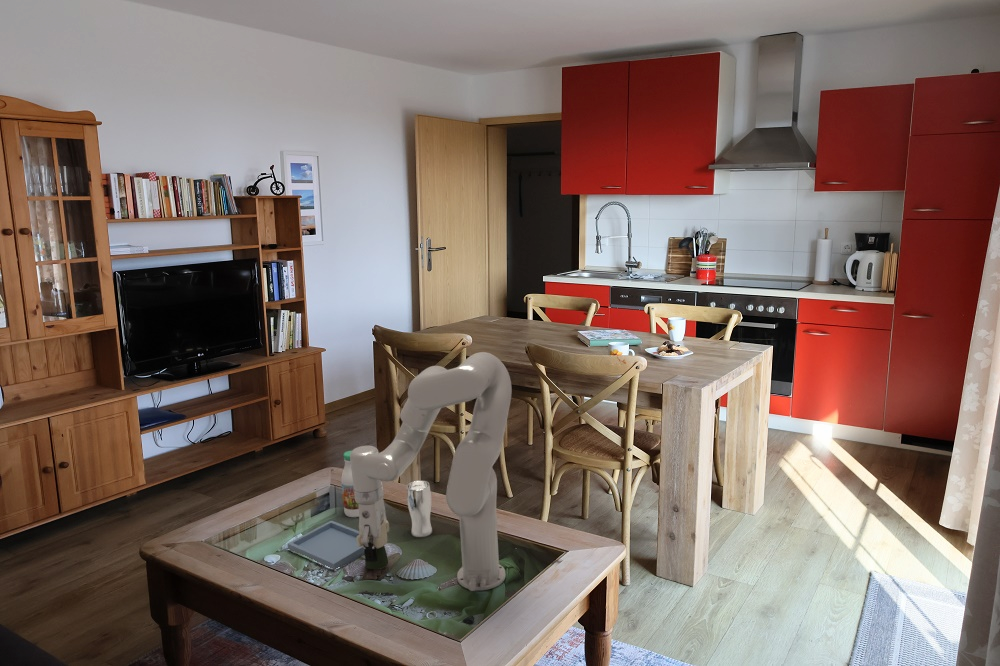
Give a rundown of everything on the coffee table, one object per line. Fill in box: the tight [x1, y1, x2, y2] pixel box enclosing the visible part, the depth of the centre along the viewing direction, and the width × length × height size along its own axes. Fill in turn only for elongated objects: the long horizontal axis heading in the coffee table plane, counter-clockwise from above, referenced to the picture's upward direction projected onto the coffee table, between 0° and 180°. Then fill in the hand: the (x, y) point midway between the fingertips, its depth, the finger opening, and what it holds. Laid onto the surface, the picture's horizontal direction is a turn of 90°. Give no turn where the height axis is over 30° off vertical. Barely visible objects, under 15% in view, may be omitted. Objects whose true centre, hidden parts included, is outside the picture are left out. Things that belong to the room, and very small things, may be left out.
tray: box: [287, 520, 365, 569], centre depth 208 cm, size 20×16×2 cm
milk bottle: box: [340, 450, 359, 518], centre depth 227 cm, size 8×8×20 cm
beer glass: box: [406, 480, 433, 538], centre depth 213 cm, size 7×7×15 cm
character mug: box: [357, 519, 390, 570], centre depth 196 cm, size 11×7×13 cm, turn 141°
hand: (375, 552), depth 197 cm, fingers closed on character mug, 8 cm apart
